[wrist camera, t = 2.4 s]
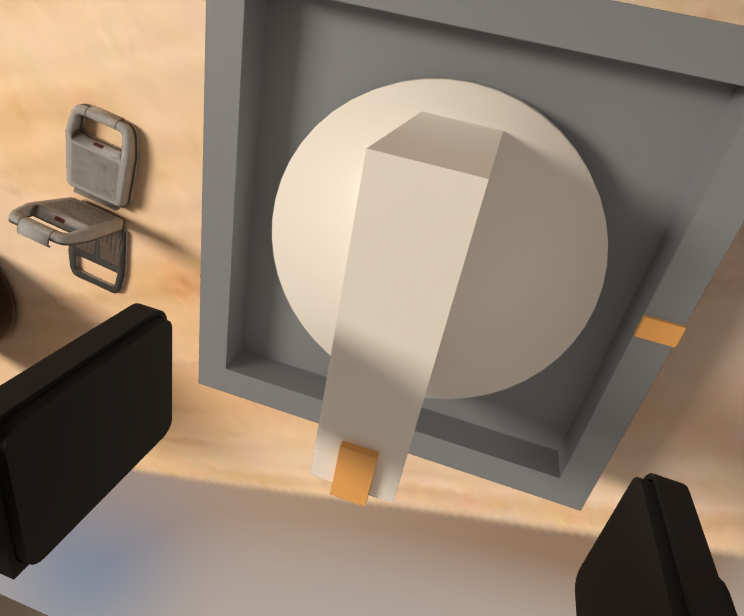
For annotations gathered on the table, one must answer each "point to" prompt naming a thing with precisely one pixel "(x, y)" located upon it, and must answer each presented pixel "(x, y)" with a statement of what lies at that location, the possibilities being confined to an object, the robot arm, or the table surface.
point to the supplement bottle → (6, 309)
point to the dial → (431, 260)
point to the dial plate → (561, 106)
